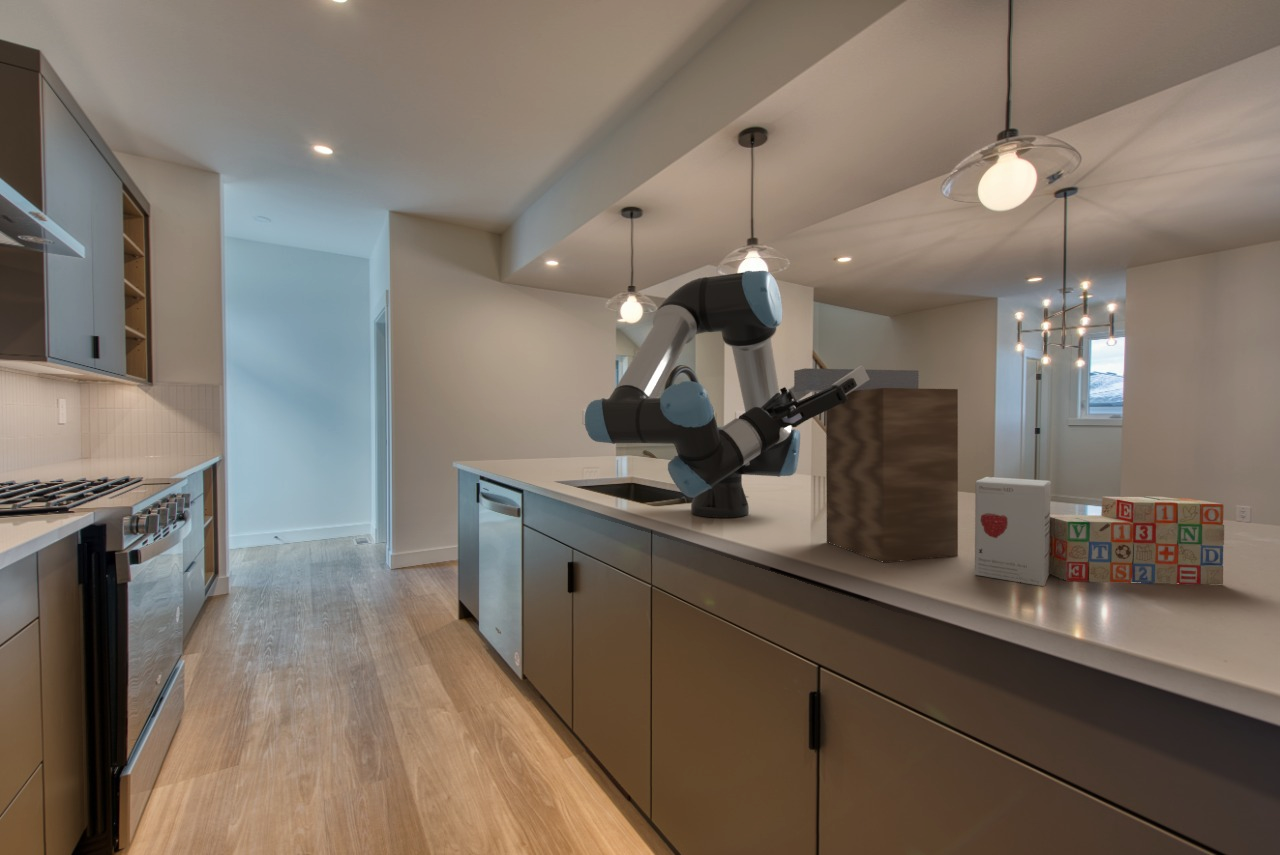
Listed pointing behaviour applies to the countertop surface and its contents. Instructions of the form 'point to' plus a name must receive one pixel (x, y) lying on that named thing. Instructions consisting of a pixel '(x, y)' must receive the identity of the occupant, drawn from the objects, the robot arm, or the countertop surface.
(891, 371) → the gray block
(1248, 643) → the countertop surface
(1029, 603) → the countertop surface
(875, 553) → the brown wooden tall block
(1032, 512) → the supplement box
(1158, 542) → the stack of blocks
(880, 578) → the countertop surface
